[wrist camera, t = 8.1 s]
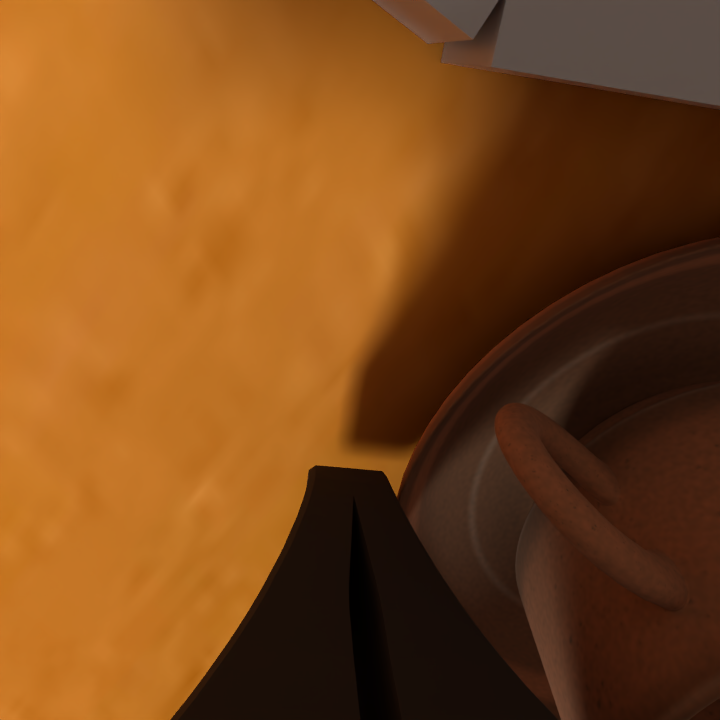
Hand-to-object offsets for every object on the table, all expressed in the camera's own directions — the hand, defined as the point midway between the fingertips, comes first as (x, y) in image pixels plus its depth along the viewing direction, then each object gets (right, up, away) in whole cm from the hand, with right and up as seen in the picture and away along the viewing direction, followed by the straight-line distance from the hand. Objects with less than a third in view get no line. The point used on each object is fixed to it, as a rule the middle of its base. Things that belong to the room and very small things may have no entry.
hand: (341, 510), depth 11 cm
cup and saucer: (+7, 0, +2) cm, 7 cm away
